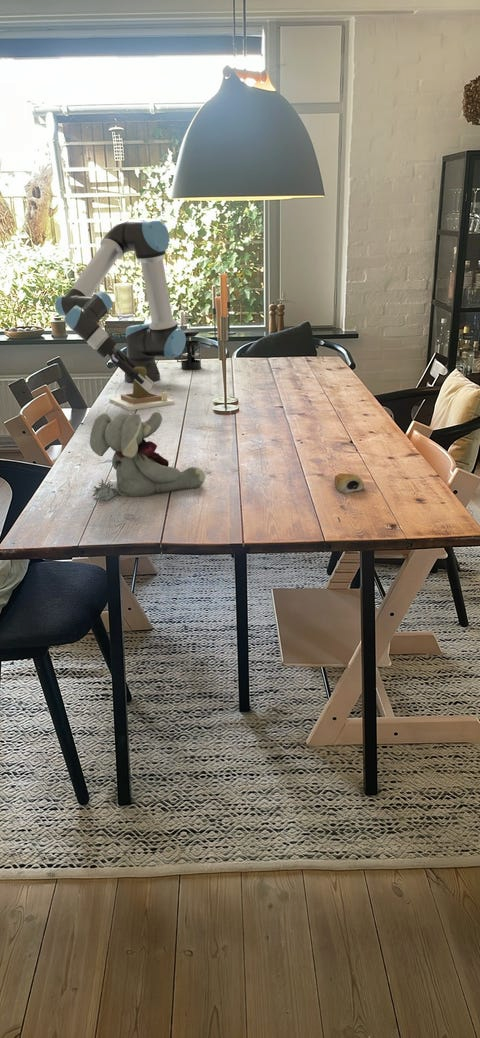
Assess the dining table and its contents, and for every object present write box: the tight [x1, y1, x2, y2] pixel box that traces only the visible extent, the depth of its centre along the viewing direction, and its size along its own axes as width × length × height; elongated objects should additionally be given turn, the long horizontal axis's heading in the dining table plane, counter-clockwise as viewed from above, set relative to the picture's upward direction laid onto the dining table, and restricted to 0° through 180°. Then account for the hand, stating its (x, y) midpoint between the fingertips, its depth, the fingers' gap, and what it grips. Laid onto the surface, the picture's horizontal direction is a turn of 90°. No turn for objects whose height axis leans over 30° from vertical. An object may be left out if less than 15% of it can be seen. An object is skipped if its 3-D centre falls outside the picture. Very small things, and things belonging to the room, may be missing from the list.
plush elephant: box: [89, 411, 206, 504], centre depth 187 cm, size 27×22×21 cm
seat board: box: [108, 391, 175, 411], centre depth 284 cm, size 18×18×4 cm
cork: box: [132, 367, 149, 399], centre depth 282 cm, size 6×6×11 cm
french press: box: [176, 316, 202, 371], centre depth 350 cm, size 12×9×23 cm
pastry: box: [333, 472, 365, 494], centre depth 188 cm, size 9×7×4 cm
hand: (150, 387), depth 283 cm, fingers open, 5 cm apart
